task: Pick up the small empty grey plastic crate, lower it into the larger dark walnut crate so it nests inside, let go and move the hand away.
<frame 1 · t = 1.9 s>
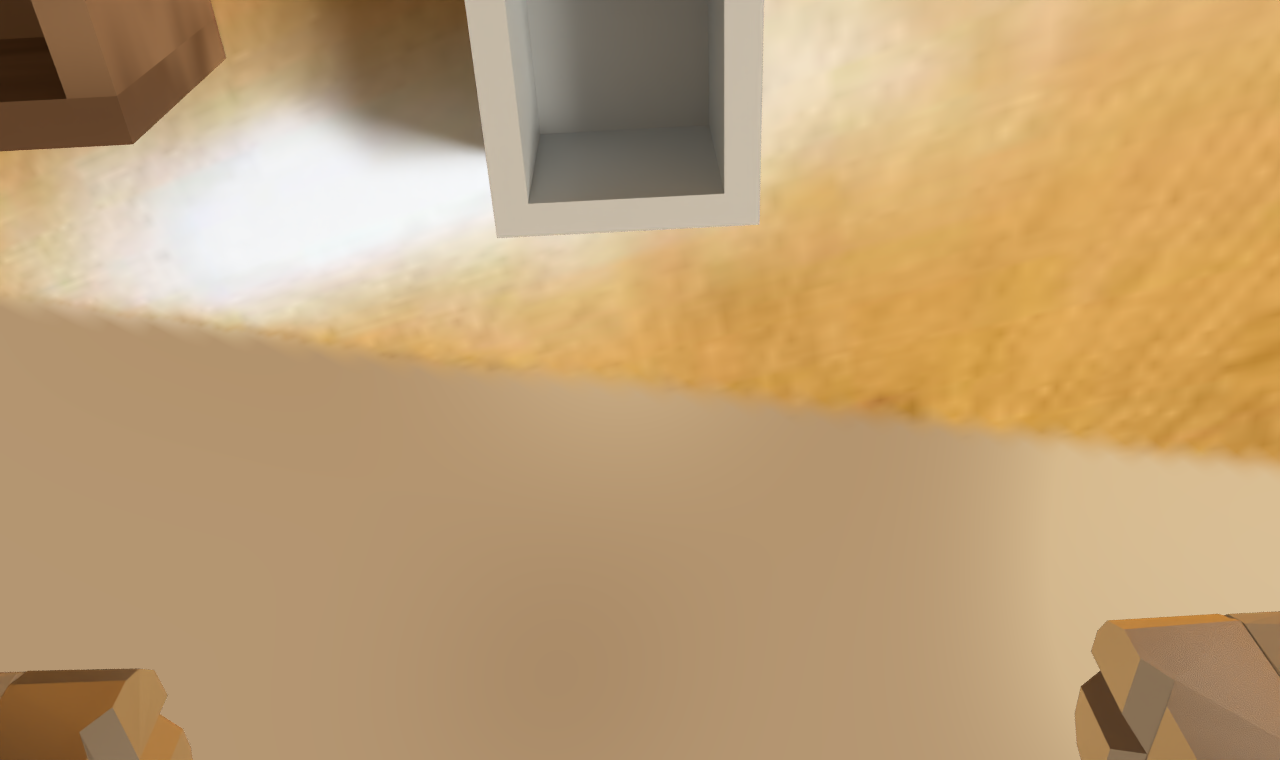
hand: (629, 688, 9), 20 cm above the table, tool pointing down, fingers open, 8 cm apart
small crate: (619, 37, 26), on the table
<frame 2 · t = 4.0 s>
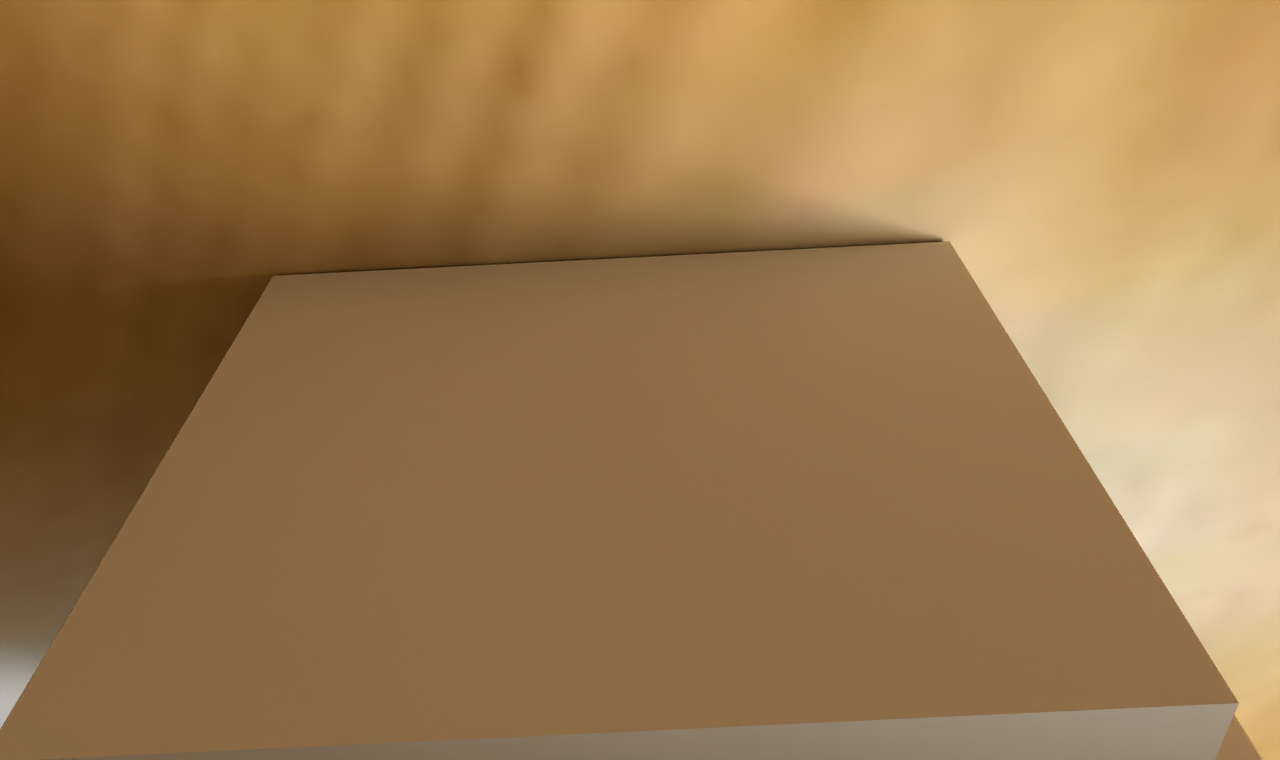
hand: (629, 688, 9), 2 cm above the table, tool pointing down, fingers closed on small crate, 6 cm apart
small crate: (628, 515, 11), on the table, touching gripper
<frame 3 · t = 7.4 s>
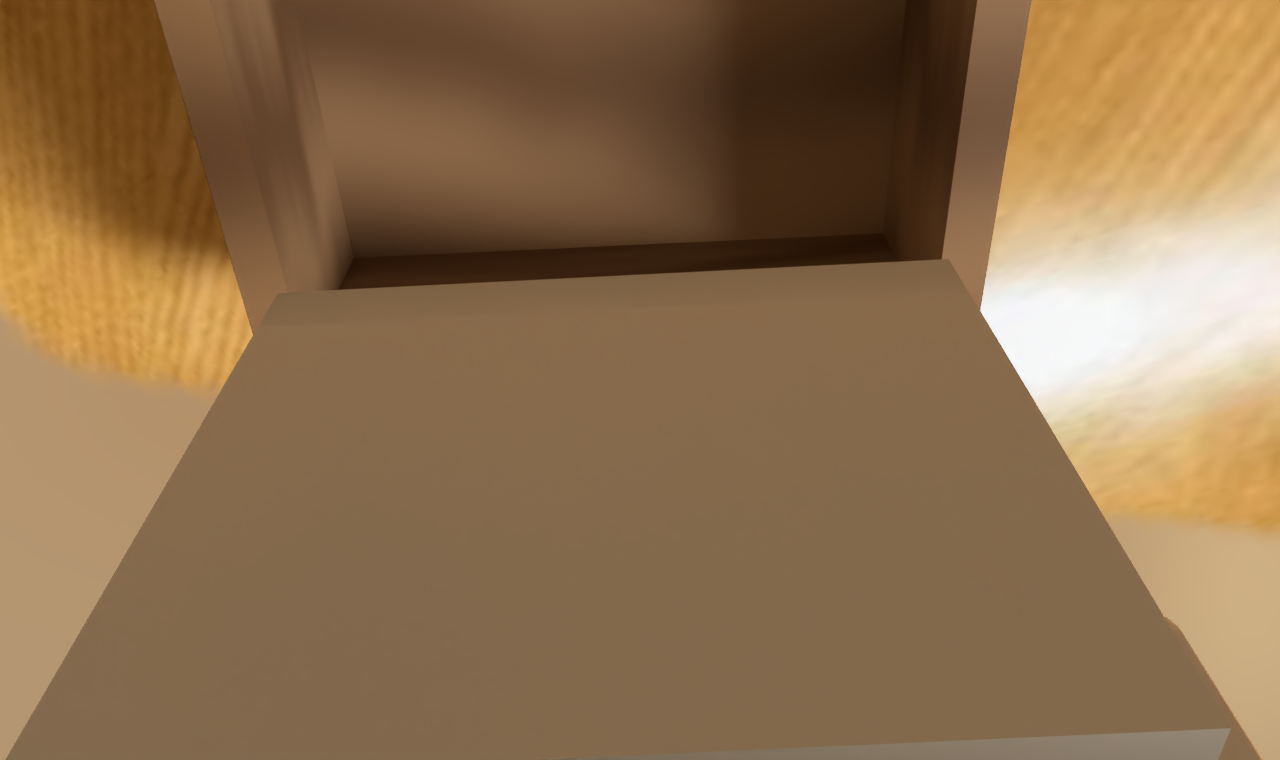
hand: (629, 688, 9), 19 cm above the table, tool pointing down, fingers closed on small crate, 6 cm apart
big crate: (606, 43, 25), on the table
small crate: (629, 529, 11), point 17 cm above the table, touching gripper
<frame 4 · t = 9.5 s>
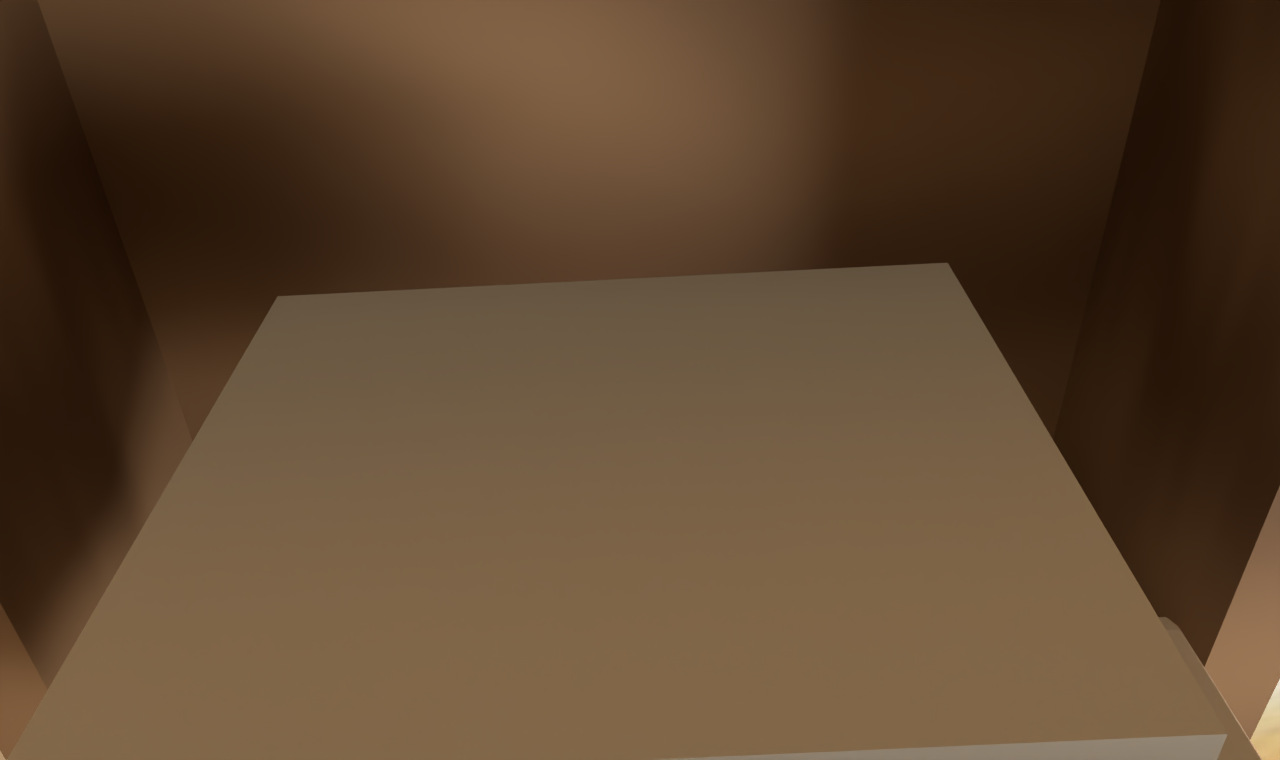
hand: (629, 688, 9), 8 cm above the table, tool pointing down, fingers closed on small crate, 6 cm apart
big crate: (617, 224, 16), on the table
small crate: (629, 532, 11), point 6 cm above the table, touching gripper
when the fingers open (5 cm above the table, at t = 11.2 s): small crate drops 1 cm, resting on big crate.
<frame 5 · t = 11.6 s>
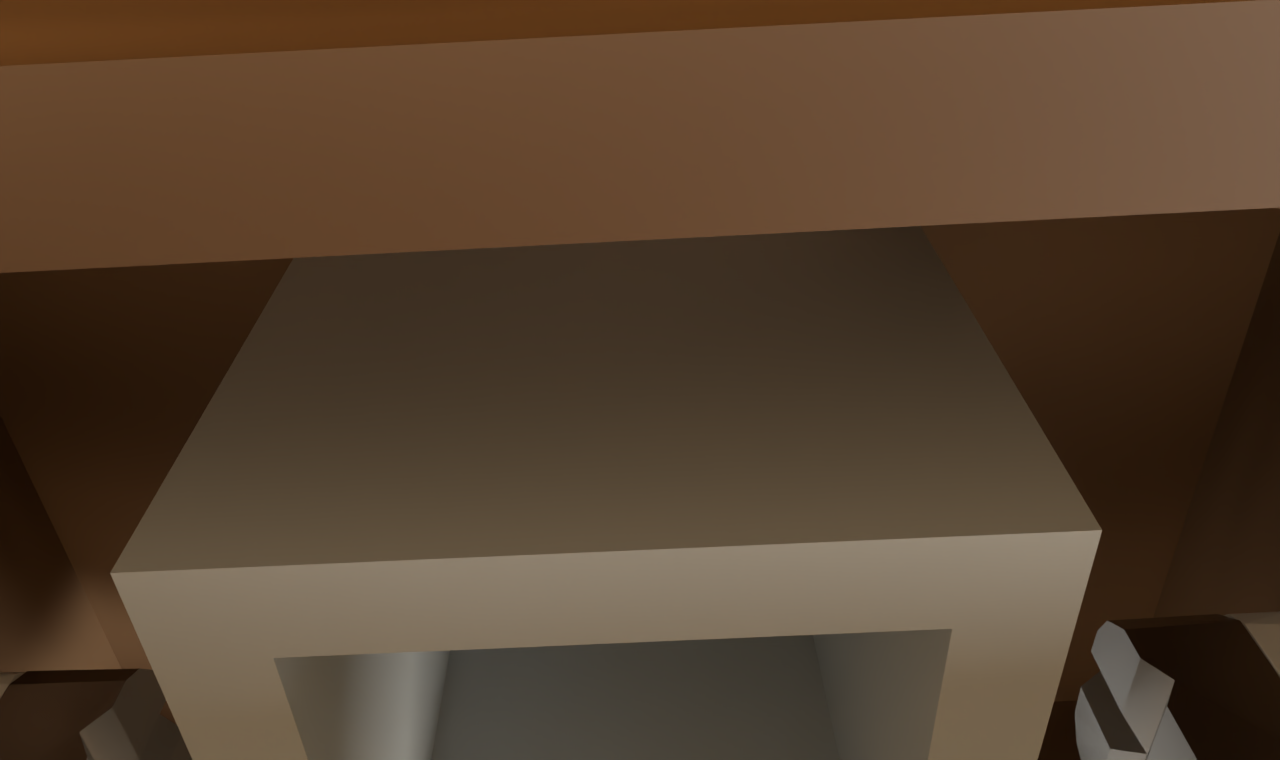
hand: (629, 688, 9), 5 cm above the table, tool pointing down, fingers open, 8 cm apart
big crate: (621, 396, 13), on the table
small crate: (622, 447, 12), point 1 cm above the table, touching big crate
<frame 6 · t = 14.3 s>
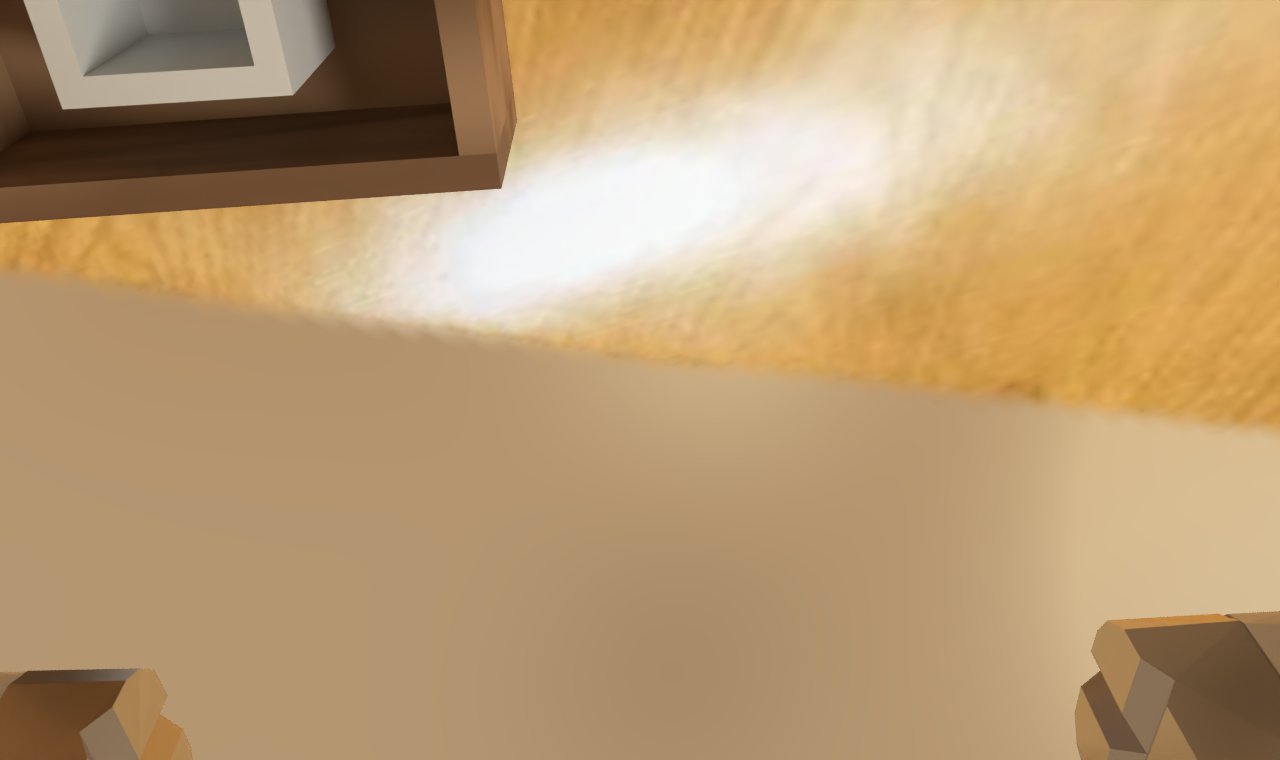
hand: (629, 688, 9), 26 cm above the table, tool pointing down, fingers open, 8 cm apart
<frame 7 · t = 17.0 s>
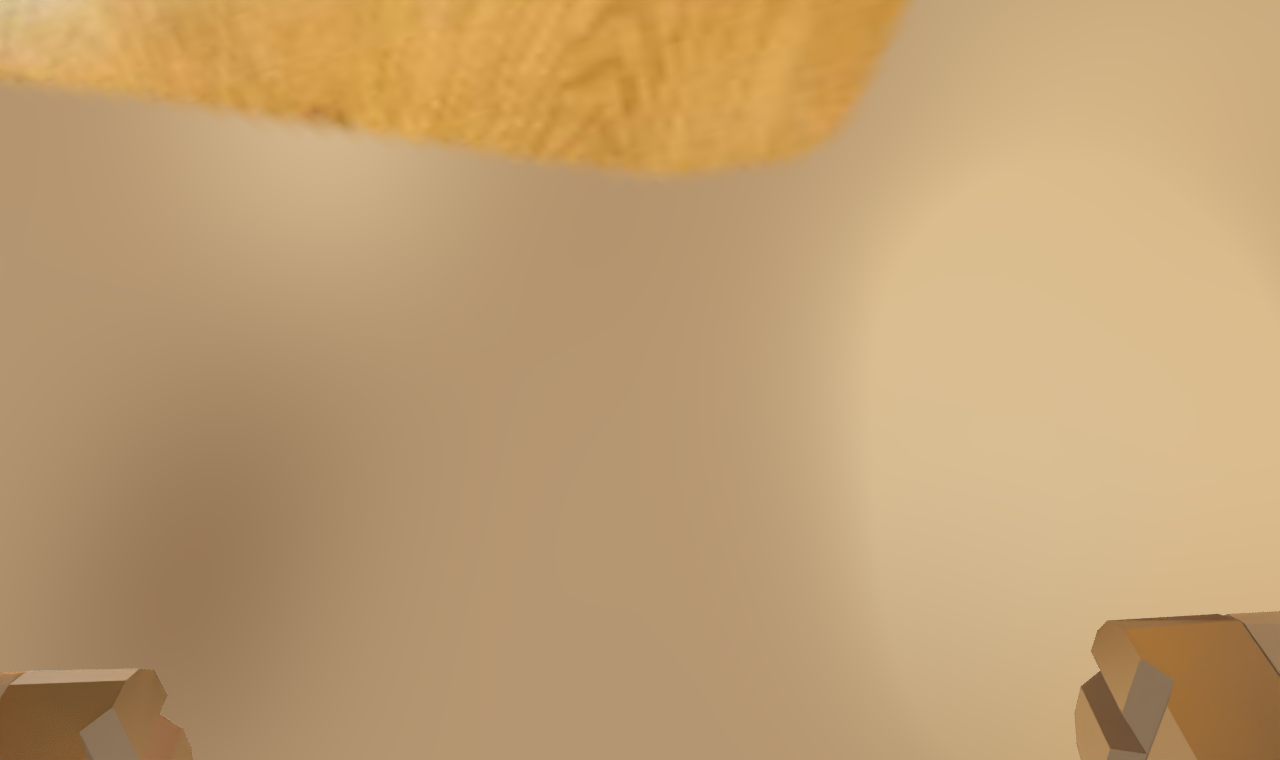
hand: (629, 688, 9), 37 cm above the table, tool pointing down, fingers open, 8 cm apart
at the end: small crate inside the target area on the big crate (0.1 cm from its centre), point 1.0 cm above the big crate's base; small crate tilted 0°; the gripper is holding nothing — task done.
